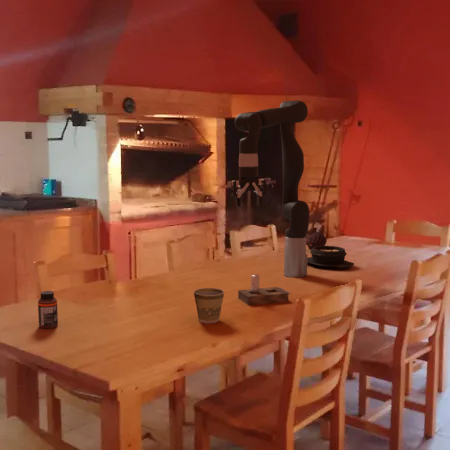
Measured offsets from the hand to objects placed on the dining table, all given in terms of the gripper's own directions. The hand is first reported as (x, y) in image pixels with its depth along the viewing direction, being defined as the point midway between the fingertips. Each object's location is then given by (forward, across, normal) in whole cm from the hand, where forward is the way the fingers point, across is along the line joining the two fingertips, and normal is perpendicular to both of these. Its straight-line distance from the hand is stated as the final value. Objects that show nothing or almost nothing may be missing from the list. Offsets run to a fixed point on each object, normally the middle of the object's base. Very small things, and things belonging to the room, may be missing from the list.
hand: (248, 206), depth 250 cm
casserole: (+35, -52, -27) cm, 69 cm away
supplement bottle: (+32, +81, +23) cm, 90 cm away
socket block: (+33, +3, +19) cm, 38 cm away
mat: (+33, -7, +9) cm, 35 cm away
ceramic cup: (+33, +29, +34) cm, 55 cm away
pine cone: (+35, -66, -62) cm, 97 cm away
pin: (+33, +6, +18) cm, 38 cm away
